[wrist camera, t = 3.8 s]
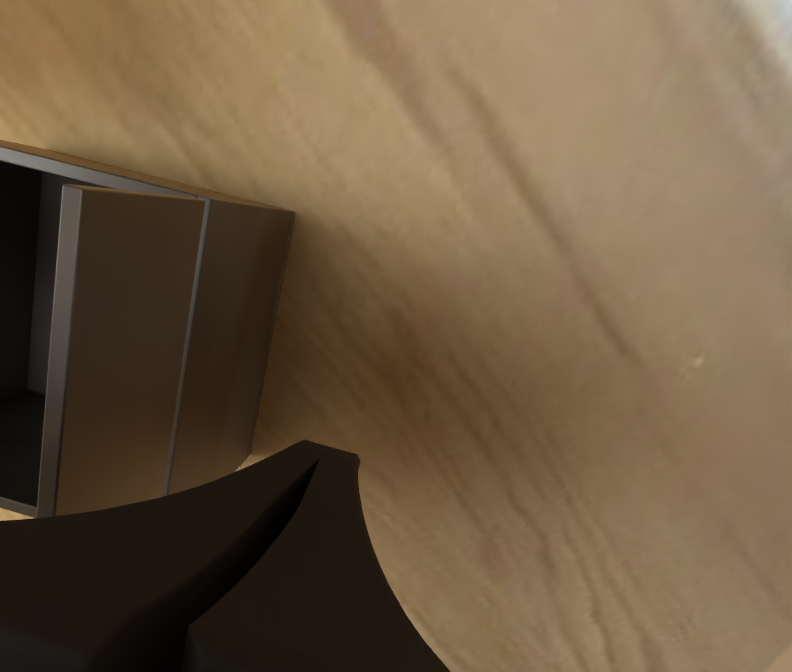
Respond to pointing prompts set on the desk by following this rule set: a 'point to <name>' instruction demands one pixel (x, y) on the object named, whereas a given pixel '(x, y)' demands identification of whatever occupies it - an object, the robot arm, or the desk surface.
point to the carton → (206, 330)
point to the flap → (115, 346)
